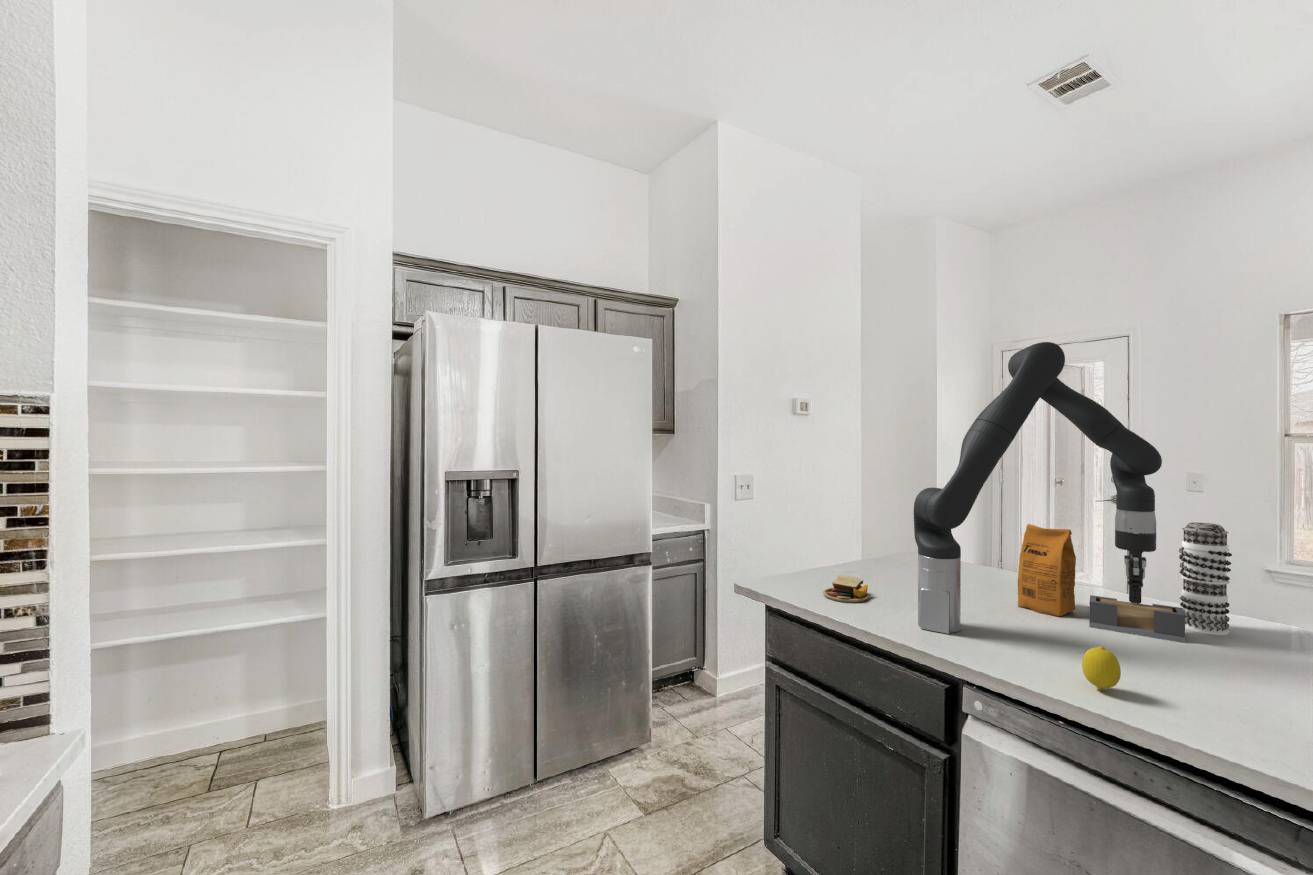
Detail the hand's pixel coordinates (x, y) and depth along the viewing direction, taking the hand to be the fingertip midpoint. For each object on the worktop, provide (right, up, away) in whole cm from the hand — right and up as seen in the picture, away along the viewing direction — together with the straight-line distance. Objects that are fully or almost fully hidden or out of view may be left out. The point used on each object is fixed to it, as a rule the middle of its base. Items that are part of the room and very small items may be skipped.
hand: (1135, 602), depth 136 cm
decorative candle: (+17, -7, +1) cm, 18 cm away
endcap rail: (0, -7, 0) cm, 7 cm away
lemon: (-33, -7, -32) cm, 46 cm away
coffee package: (-11, -7, +16) cm, 20 cm away
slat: (0, -6, 0) cm, 6 cm away
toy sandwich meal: (-59, -7, +28) cm, 66 cm away
